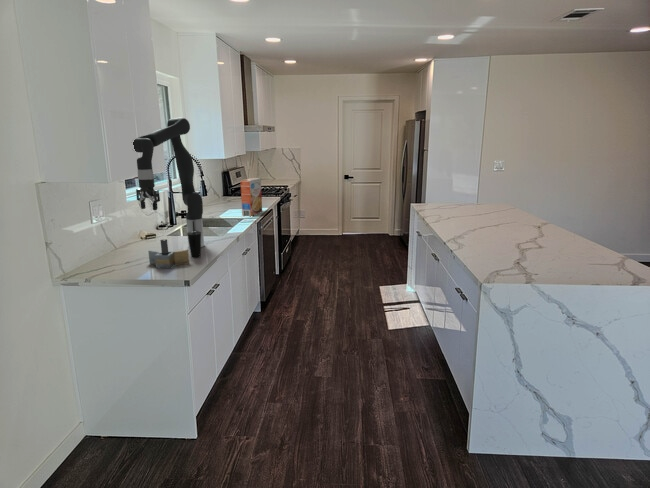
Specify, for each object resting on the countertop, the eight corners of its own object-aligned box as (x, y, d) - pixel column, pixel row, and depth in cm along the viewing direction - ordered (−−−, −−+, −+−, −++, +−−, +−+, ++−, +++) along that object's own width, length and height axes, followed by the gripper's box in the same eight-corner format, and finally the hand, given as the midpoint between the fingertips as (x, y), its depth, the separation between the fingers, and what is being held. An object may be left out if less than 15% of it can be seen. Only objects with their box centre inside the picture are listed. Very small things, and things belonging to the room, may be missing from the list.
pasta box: (251, 217, 353) (249, 180, 345) (242, 216, 355) (240, 180, 347) (262, 212, 374) (260, 178, 367) (253, 211, 376) (252, 177, 369)
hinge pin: (165, 265, 221) (162, 239, 217) (170, 265, 221) (168, 239, 217) (162, 267, 218) (159, 240, 214) (167, 267, 217) (165, 240, 214)
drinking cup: (205, 256, 237) (203, 221, 232) (193, 259, 231) (190, 223, 226) (198, 254, 242) (195, 219, 237) (186, 256, 236) (183, 221, 231)
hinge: (153, 261, 228) (152, 248, 226) (189, 262, 226) (188, 249, 224) (142, 267, 217) (141, 254, 215) (180, 268, 215) (179, 255, 213)
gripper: (130, 178, 218) (133, 209, 222) (150, 179, 212) (153, 211, 216) (142, 177, 224) (145, 207, 228) (161, 178, 218) (164, 209, 222)
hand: (149, 209), depth 222 cm, fingers open, 8 cm apart
